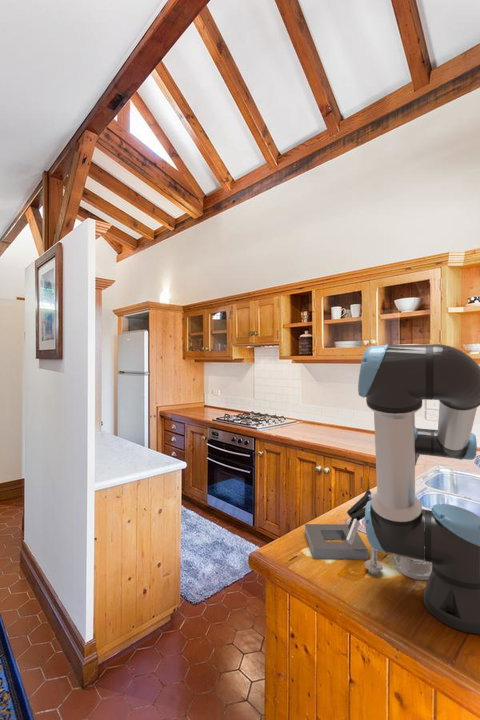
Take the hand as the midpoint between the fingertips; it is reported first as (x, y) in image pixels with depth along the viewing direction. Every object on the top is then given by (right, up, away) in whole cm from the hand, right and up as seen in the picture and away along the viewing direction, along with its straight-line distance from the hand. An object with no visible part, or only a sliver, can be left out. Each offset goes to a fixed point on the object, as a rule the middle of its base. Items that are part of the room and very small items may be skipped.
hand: (371, 550), depth 101 cm
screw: (+1, -7, +1) cm, 7 cm away
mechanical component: (+13, -7, +2) cm, 15 cm away
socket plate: (-6, -6, +15) cm, 18 cm away
